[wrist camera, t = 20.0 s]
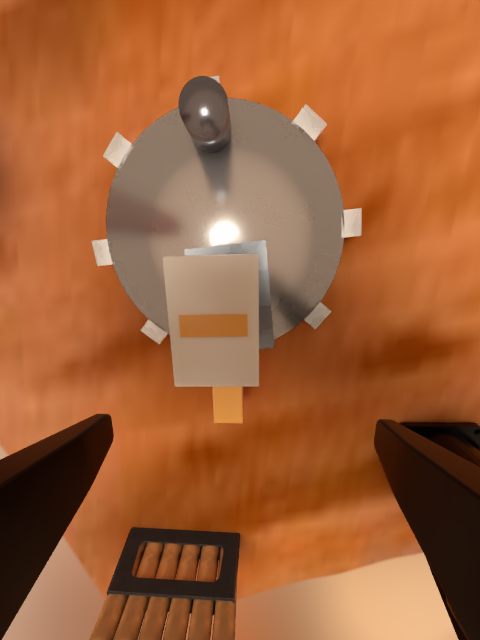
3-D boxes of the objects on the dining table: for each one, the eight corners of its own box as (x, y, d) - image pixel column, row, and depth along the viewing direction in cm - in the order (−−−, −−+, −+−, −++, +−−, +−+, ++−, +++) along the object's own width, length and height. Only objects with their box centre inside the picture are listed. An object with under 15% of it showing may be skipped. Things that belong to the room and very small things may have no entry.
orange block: (243, 362, 21) (241, 384, 17) (243, 396, 22) (242, 423, 18) (218, 362, 21) (211, 384, 18) (219, 396, 22) (214, 422, 18)
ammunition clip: (132, 541, 26) (39, 772, 15) (131, 527, 26) (34, 753, 14) (239, 547, 26) (231, 787, 14) (239, 533, 25) (232, 769, 14)
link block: (255, 253, 17) (258, 254, 11) (255, 343, 18) (259, 387, 12) (192, 255, 17) (161, 256, 11) (198, 343, 18) (174, 387, 12)
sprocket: (349, 75, 16) (386, 10, 11) (351, 342, 20) (378, 367, 16) (77, 116, 17) (20, 71, 12) (134, 362, 21) (105, 390, 17)
